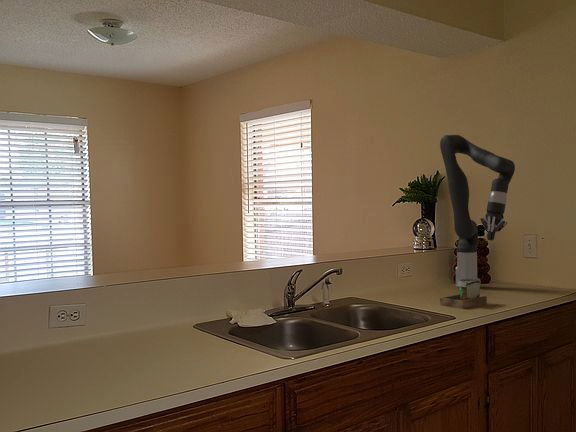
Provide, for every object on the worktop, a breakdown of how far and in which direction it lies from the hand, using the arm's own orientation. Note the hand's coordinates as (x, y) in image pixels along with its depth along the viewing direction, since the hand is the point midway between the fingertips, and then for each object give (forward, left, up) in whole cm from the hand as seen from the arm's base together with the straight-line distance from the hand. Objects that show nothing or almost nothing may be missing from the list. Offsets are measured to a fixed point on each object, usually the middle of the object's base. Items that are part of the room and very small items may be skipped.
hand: (490, 240), depth 240 cm
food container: (+6, -26, -25) cm, 36 cm away
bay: (+6, -28, -24) cm, 37 cm away
